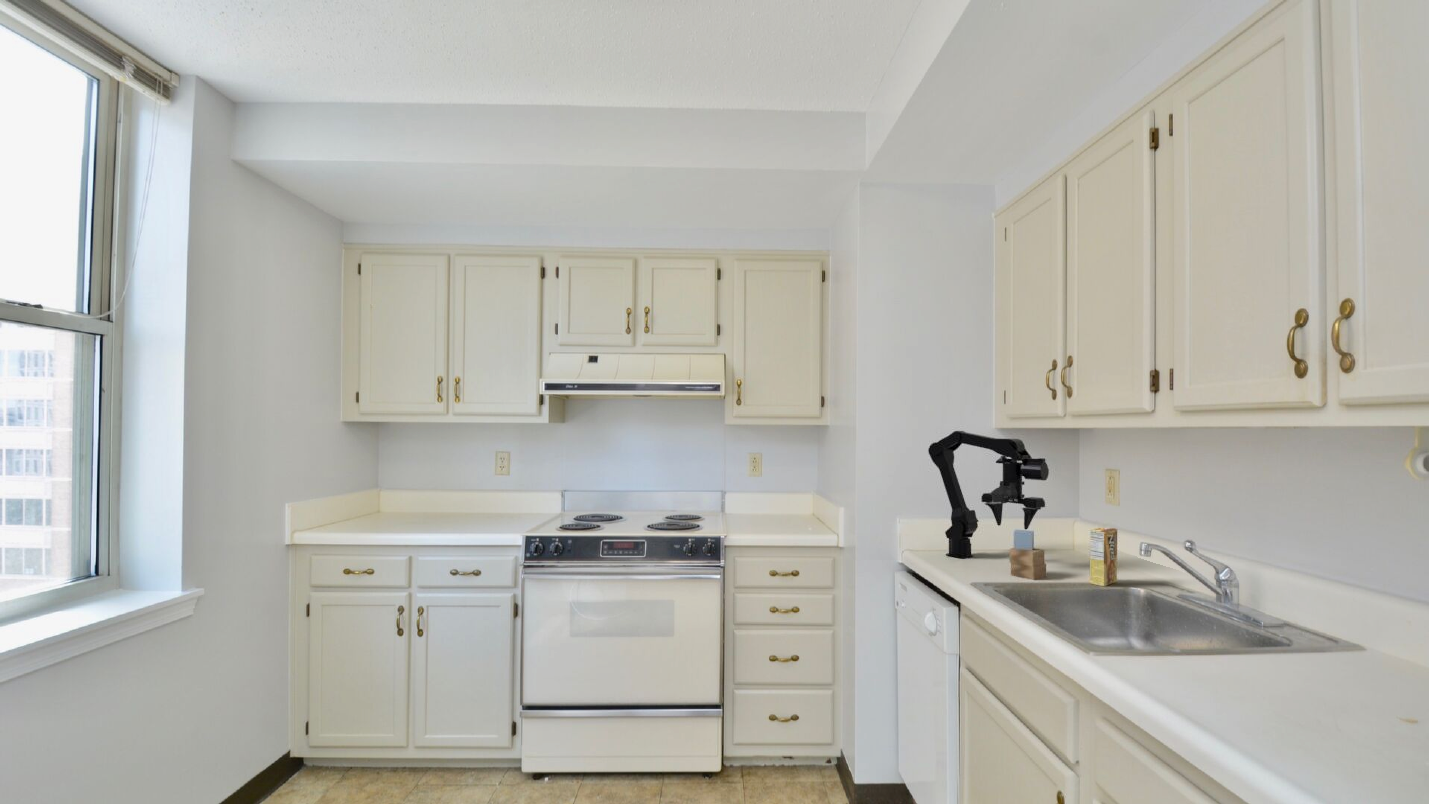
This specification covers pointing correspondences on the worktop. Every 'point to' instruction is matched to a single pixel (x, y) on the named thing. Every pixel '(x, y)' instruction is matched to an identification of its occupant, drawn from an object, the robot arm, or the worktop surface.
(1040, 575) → the tower base
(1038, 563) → the tower top
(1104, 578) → the candy box
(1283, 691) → the worktop surface
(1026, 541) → the blue block
